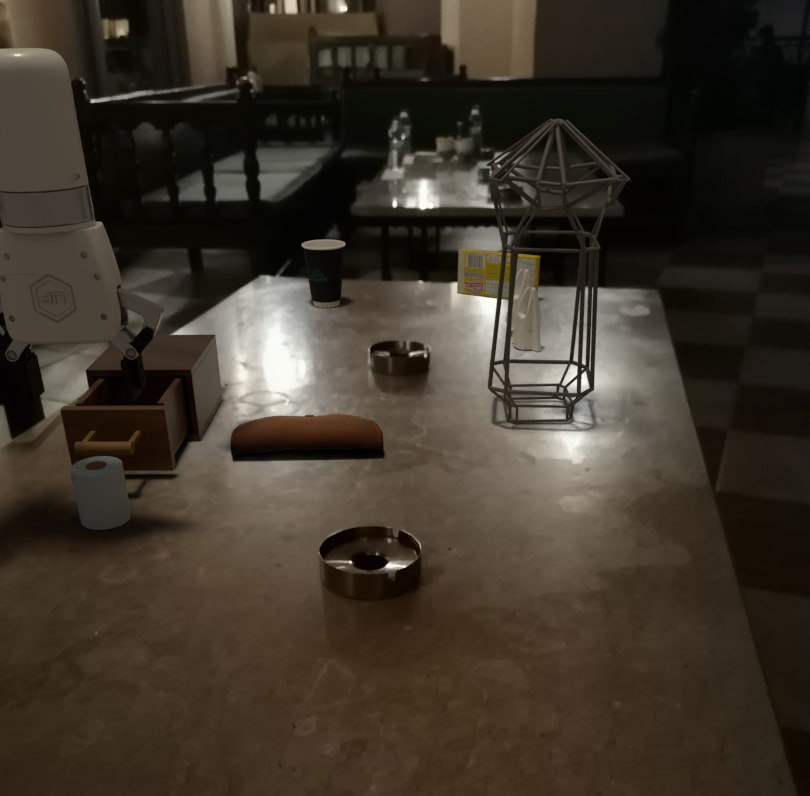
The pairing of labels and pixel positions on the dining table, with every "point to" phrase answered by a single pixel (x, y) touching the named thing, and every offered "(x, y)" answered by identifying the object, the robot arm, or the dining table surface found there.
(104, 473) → the paper roll
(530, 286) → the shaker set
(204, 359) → the cabinet
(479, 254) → the candy box
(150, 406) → the drawer
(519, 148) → the geometric lantern
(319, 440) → the sunglasses case
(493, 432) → the dining table surface
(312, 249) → the dixie cup
